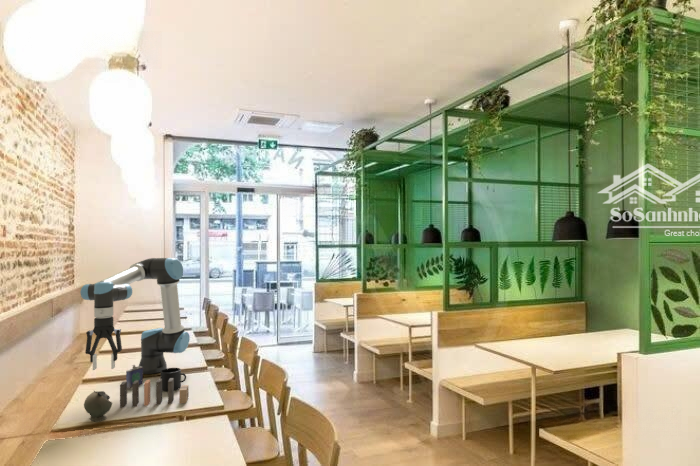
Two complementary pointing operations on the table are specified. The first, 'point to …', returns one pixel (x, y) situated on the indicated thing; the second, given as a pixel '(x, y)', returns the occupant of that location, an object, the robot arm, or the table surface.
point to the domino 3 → (147, 393)
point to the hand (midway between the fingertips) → (103, 368)
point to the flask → (134, 376)
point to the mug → (171, 373)
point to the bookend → (183, 394)
